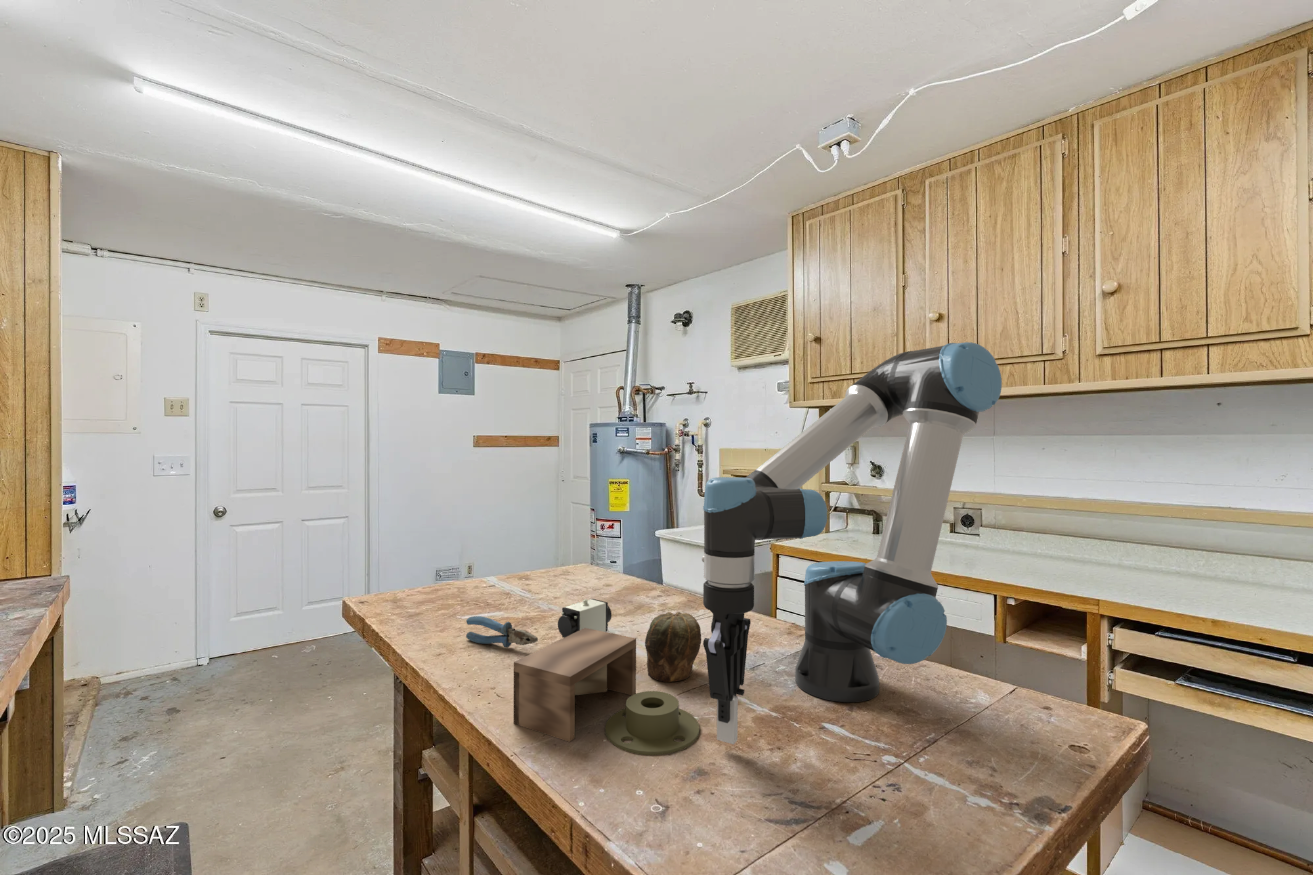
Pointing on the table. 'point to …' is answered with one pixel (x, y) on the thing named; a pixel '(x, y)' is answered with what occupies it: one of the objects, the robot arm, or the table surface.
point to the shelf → (570, 678)
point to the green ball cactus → (672, 646)
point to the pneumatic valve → (584, 617)
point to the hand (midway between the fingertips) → (727, 739)
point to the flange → (652, 725)
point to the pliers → (508, 632)
